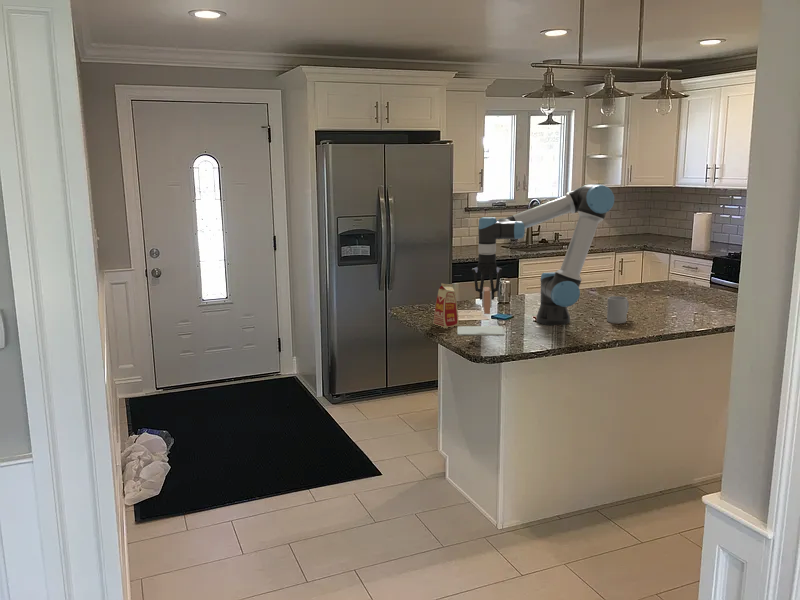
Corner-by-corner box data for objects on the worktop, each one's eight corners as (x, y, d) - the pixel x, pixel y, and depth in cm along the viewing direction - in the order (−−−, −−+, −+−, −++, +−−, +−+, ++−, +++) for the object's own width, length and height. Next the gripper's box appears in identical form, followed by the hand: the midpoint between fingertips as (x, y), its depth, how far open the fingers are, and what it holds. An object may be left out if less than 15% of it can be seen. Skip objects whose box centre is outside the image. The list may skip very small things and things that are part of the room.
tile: (489, 309, 301) (489, 286, 299) (490, 313, 292) (490, 291, 290) (483, 309, 302) (483, 286, 300) (484, 313, 292) (484, 291, 290)
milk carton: (445, 328, 305) (444, 284, 301) (432, 325, 313) (431, 282, 309) (460, 325, 311) (460, 282, 307) (447, 322, 318) (447, 279, 314)
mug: (618, 324, 305) (619, 300, 303) (602, 321, 312) (603, 297, 310) (635, 320, 312) (636, 297, 310) (619, 317, 319) (620, 294, 316)
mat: (502, 327, 305) (502, 326, 304) (504, 335, 291) (504, 333, 291) (457, 327, 306) (457, 326, 306) (457, 335, 293) (457, 333, 292)
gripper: (504, 252, 295) (504, 305, 299) (468, 252, 296) (468, 305, 301) (506, 254, 287) (505, 308, 292) (469, 254, 289) (468, 308, 293)
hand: (486, 306), depth 296 cm, fingers closed on tile, 3 cm apart
